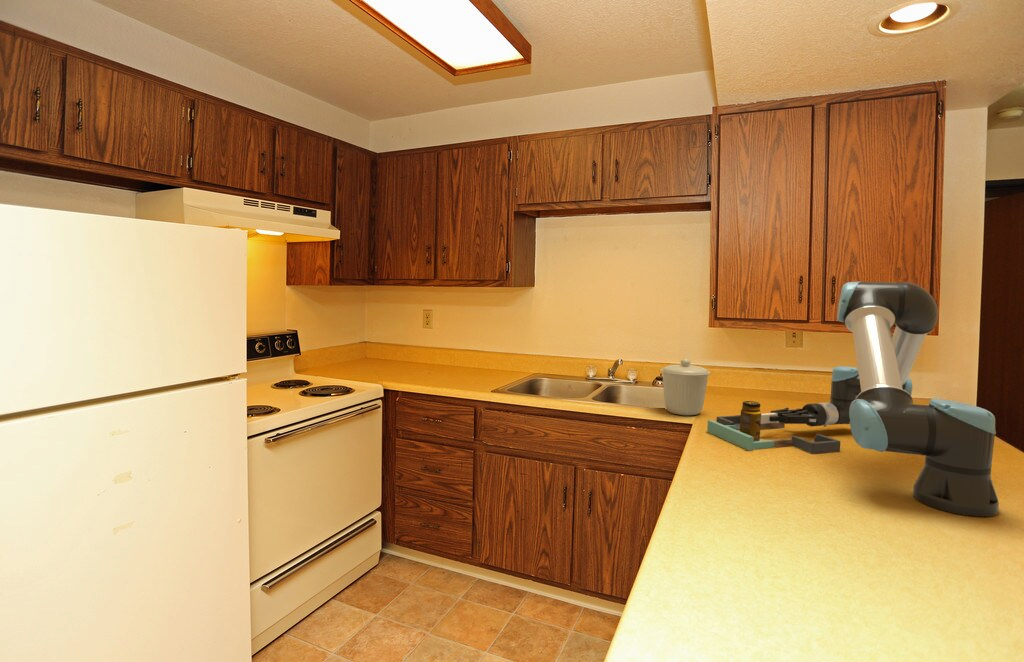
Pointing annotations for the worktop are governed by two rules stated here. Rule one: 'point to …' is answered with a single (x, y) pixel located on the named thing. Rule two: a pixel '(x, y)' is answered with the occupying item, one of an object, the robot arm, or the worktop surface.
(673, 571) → the worktop surface
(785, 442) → the lane
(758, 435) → the condiment
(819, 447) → the trap pits
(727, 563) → the worktop surface
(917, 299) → the robot arm
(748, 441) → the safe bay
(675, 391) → the canister
